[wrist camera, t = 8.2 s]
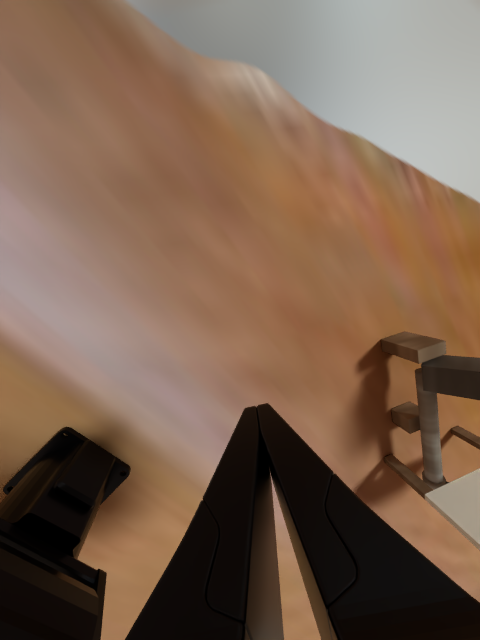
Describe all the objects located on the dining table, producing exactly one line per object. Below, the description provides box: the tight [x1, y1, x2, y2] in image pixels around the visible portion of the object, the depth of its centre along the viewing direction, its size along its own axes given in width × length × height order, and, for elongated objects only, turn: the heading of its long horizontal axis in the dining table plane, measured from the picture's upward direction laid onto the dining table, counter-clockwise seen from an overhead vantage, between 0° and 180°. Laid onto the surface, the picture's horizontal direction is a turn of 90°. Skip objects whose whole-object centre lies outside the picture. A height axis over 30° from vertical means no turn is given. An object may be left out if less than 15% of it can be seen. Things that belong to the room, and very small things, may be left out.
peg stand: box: [381, 332, 480, 499], centre depth 22 cm, size 10×14×4 cm
